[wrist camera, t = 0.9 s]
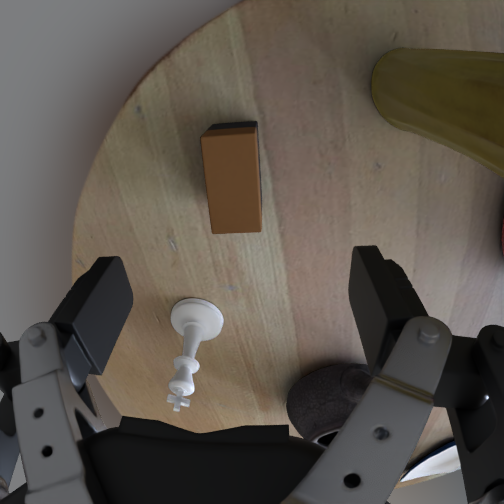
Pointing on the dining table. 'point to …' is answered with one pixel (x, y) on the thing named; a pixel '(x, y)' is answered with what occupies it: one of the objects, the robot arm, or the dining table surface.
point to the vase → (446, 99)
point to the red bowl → (503, 237)
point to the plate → (435, 463)
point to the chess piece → (191, 343)
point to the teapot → (326, 400)
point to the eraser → (233, 177)
